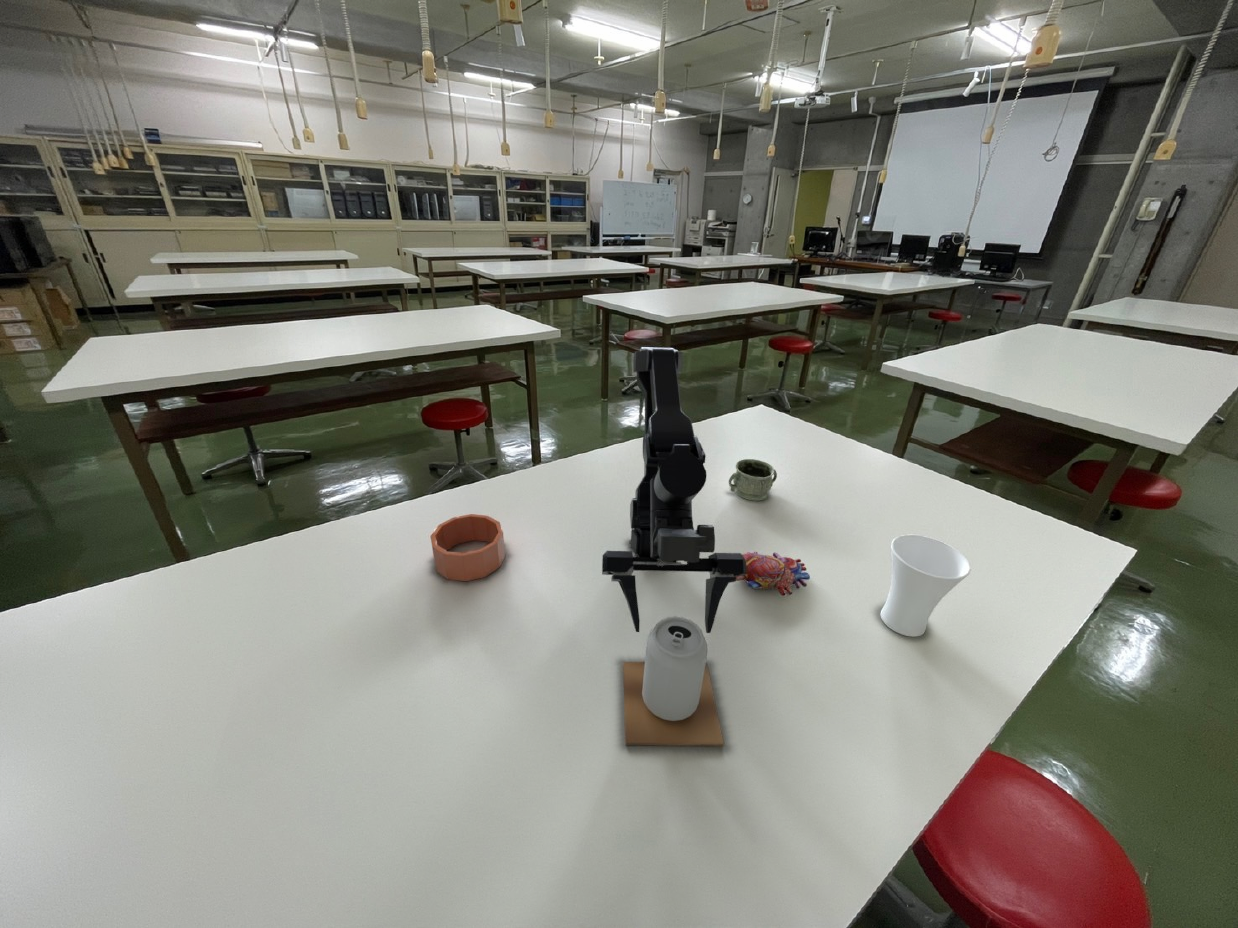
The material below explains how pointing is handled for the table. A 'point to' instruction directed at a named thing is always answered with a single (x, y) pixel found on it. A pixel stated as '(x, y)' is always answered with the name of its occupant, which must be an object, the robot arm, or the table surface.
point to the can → (674, 668)
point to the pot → (469, 562)
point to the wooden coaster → (659, 731)
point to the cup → (920, 581)
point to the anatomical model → (773, 572)
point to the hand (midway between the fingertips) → (673, 632)
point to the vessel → (752, 479)
